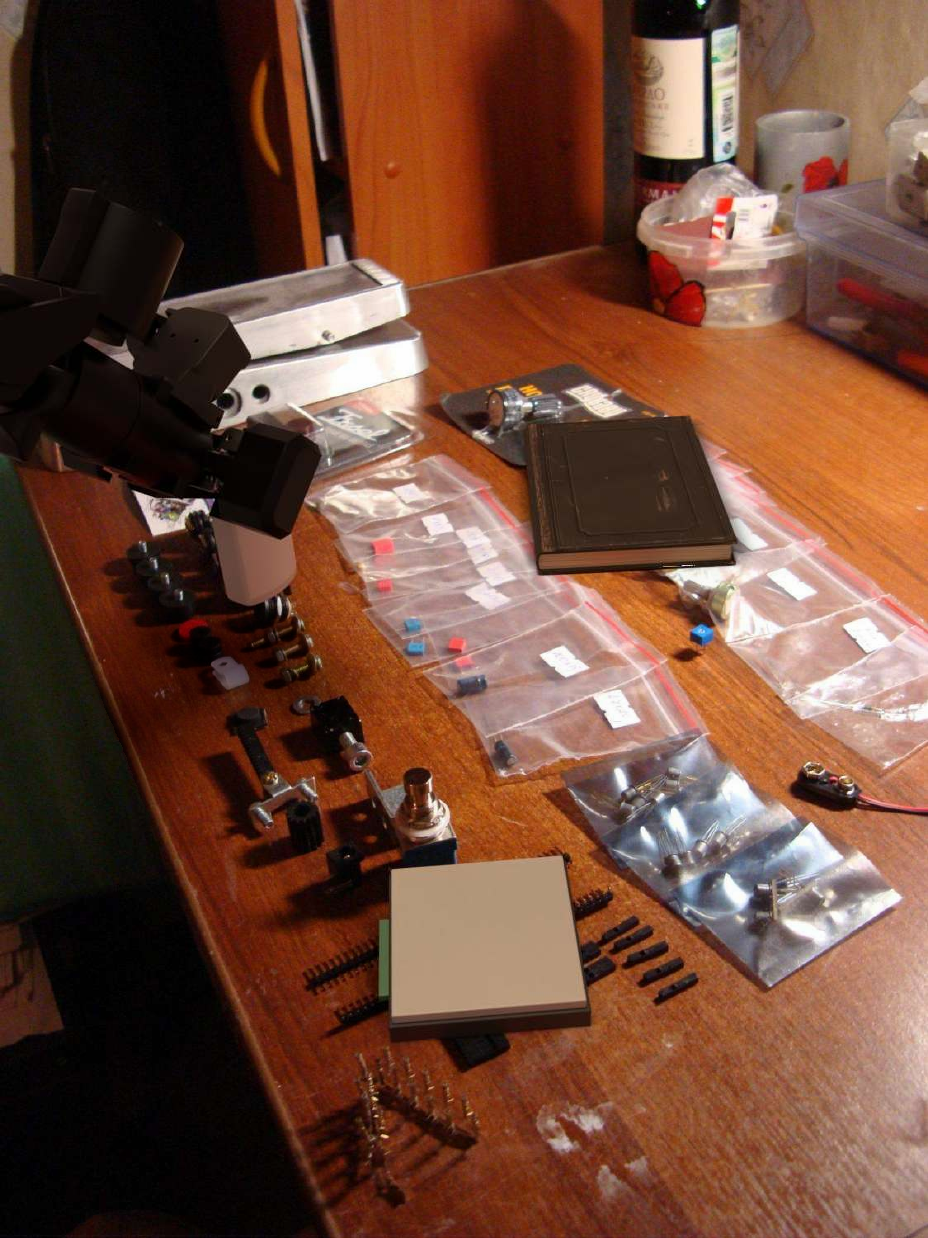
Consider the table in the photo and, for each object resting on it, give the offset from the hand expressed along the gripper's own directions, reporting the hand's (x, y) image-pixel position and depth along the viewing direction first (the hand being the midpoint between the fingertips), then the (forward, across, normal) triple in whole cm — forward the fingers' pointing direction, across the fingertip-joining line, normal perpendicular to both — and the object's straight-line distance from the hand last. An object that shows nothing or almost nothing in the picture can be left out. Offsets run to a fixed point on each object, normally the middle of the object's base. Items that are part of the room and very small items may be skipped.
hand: (262, 497), depth 79 cm
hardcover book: (+31, -11, -13) cm, 36 cm away
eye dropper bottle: (+4, 0, +6) cm, 7 cm away
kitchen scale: (-2, -29, +21) cm, 36 cm away
